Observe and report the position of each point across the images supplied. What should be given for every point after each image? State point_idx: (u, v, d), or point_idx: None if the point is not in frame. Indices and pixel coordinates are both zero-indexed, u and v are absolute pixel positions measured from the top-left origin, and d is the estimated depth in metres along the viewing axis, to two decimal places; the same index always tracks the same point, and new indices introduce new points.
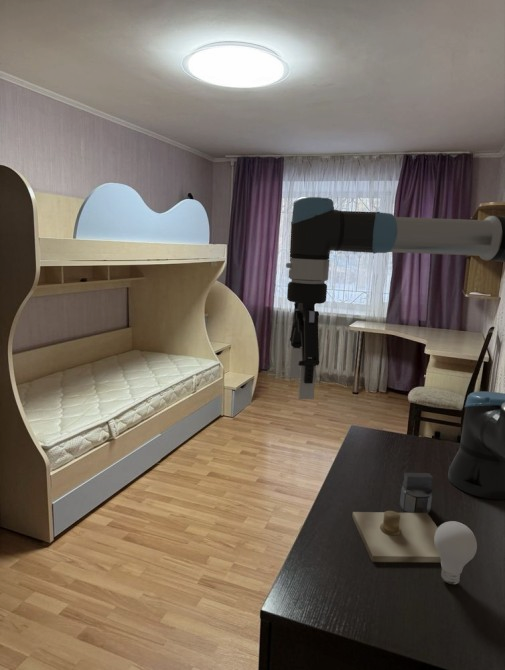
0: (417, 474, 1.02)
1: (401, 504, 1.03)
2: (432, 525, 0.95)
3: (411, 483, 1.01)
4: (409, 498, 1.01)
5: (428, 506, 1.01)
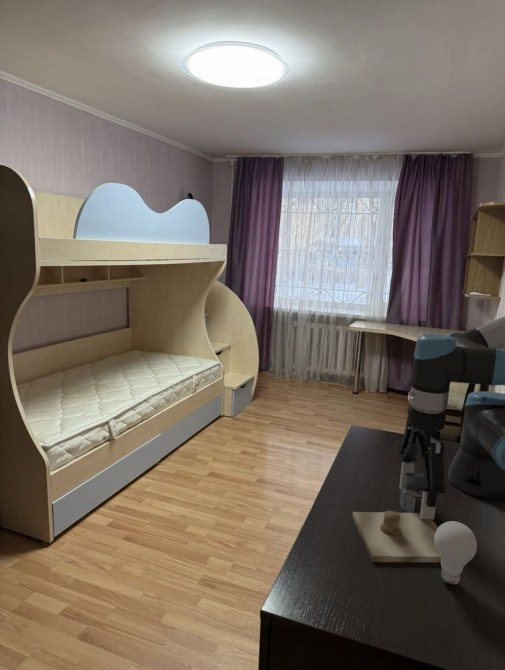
0: (417, 474, 1.02)
1: (401, 504, 1.03)
2: (432, 525, 0.95)
3: (411, 483, 1.01)
4: (409, 498, 1.01)
5: None
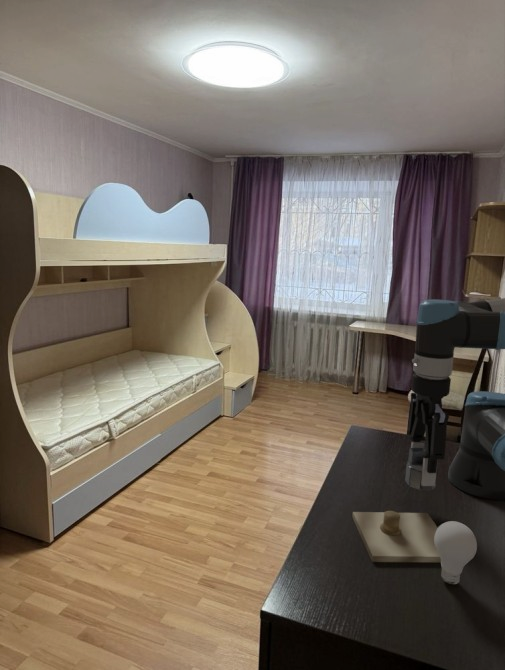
0: (422, 449, 1.01)
1: (407, 480, 1.02)
2: (432, 525, 0.95)
3: (416, 458, 1.00)
4: (415, 473, 0.99)
5: None
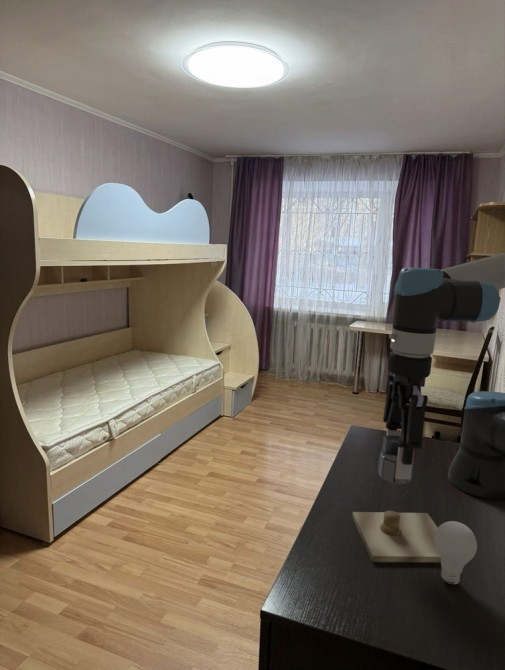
0: (398, 437, 0.89)
1: (379, 471, 0.90)
2: (432, 525, 0.95)
3: (391, 447, 0.88)
4: (388, 464, 0.88)
5: None
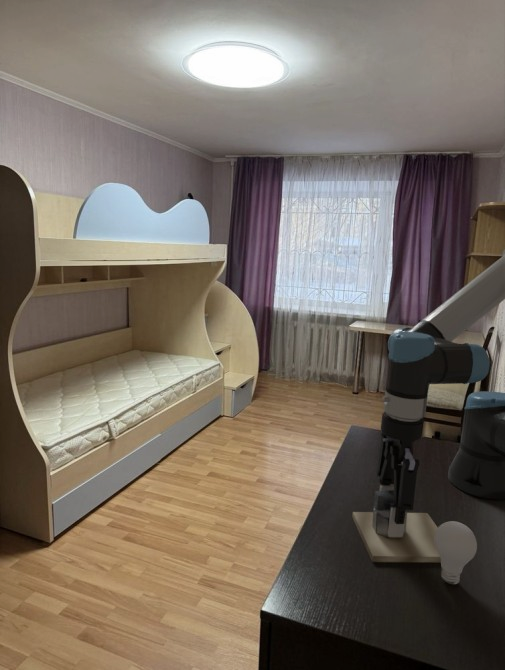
0: (389, 492, 0.91)
1: (374, 526, 0.93)
2: (432, 525, 0.95)
3: (382, 503, 0.91)
4: (381, 520, 0.90)
5: None
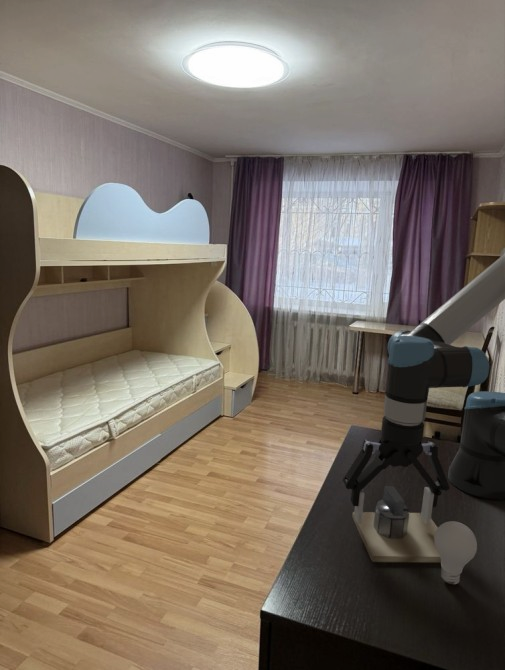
0: (394, 492, 0.92)
1: None
2: (432, 525, 0.95)
3: (385, 495, 0.93)
4: None
5: (383, 527, 0.91)
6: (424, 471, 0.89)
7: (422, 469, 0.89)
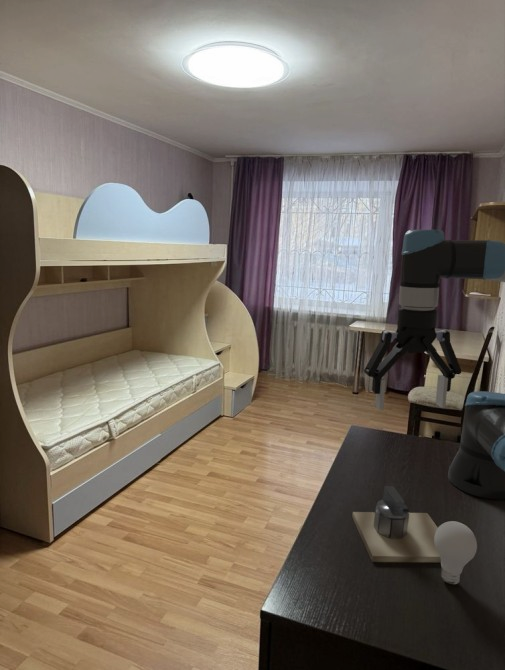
0: (394, 492, 0.92)
1: None
2: (432, 525, 0.95)
3: (385, 495, 0.93)
4: None
5: (383, 527, 0.91)
6: (438, 356, 0.97)
7: (436, 354, 0.96)
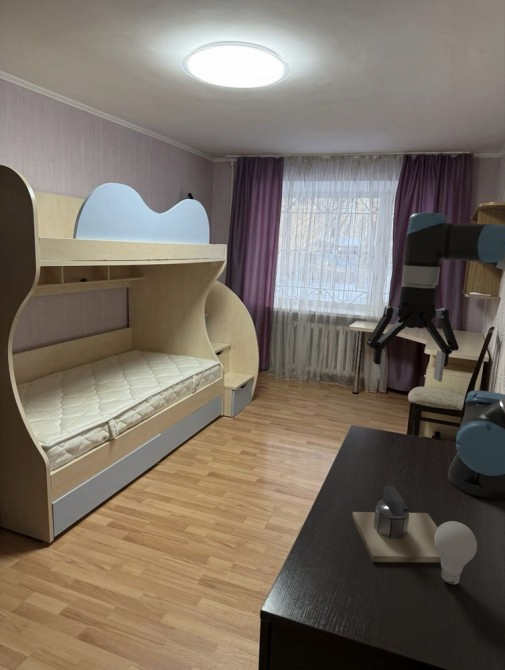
0: (394, 492, 0.92)
1: None
2: (432, 525, 0.95)
3: (385, 495, 0.93)
4: None
5: (383, 527, 0.91)
6: (437, 332, 1.04)
7: (435, 330, 1.04)
